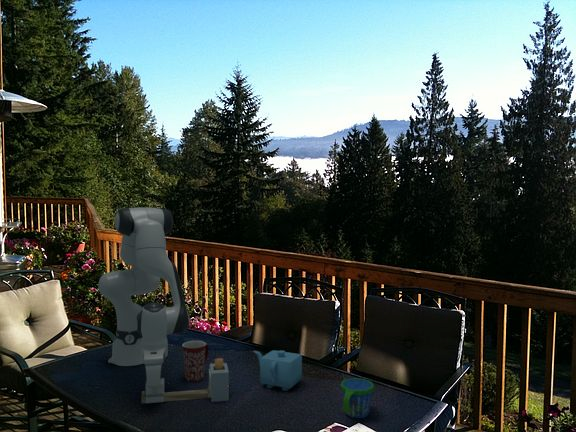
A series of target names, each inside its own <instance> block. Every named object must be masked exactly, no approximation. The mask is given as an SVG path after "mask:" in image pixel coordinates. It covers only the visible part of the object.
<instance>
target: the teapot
mask: <svg viewBox="0 0 576 432" xmlns="http://www.w3.org/2000/svg"><path fill="white" fill-rule="evenodd" d="M252 352H253V354H254V353H255V355H256V356H257V359H258V363H259V383H260V384H263V385H266V387H265V388H267V389H273V388H274V387H279V388H281V391H283V392H288V391H289V390H290V389H292V388H293V387H294V386H295V385H297V384H298V383H299V382H300V381H301V380H302V379H303V354H301V353H294V352H286V350H271V351H269V352H268V353H266V354H264V355H262V353H261V352H260V351H257V350H253V351H252Z"/></svg>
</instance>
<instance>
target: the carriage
mask: <svg viewBox="0 0 576 432" xmlns="http://www.w3.org/2000/svg"><path fill="white" fill-rule="evenodd" d="M157 389H158V392H157V394H156V395H153V394H152V388H151V387H148V384H147V379H146V381H145V394H146V403H145V404H154V403H164V393H165V378H163V377H161V378H160V384H159V386H158V388H157Z"/></svg>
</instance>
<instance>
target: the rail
mask: <svg viewBox="0 0 576 432" xmlns="http://www.w3.org/2000/svg"><path fill="white" fill-rule="evenodd" d="M199 399H200V400H202V399H203V400H204V399H211V397H210V388H209V386H207V389H195V390H181V391H169V392H168V391H167V392H165V391H164V402H174V401H175V402H176V401H178V402H179V401H189V400H190V401H191V400H199ZM164 402H163V403H164ZM141 404H147V403H146V390H144V391H143V390H142V391H141Z"/></svg>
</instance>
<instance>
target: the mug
mask: <svg viewBox="0 0 576 432" xmlns="http://www.w3.org/2000/svg"><path fill="white" fill-rule="evenodd" d="M181 346H182V355H183V368H184V379H185V381H187V382H192V383H194V382H199V381H202V380H203V379H204V378H205V365H206V362H207V359H208V357H209V351H210V350H209V349H210V348H209V345H208V344H207V343H206V342H205V341H203V340H190V341H185V342H184V343H182V345H181Z"/></svg>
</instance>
